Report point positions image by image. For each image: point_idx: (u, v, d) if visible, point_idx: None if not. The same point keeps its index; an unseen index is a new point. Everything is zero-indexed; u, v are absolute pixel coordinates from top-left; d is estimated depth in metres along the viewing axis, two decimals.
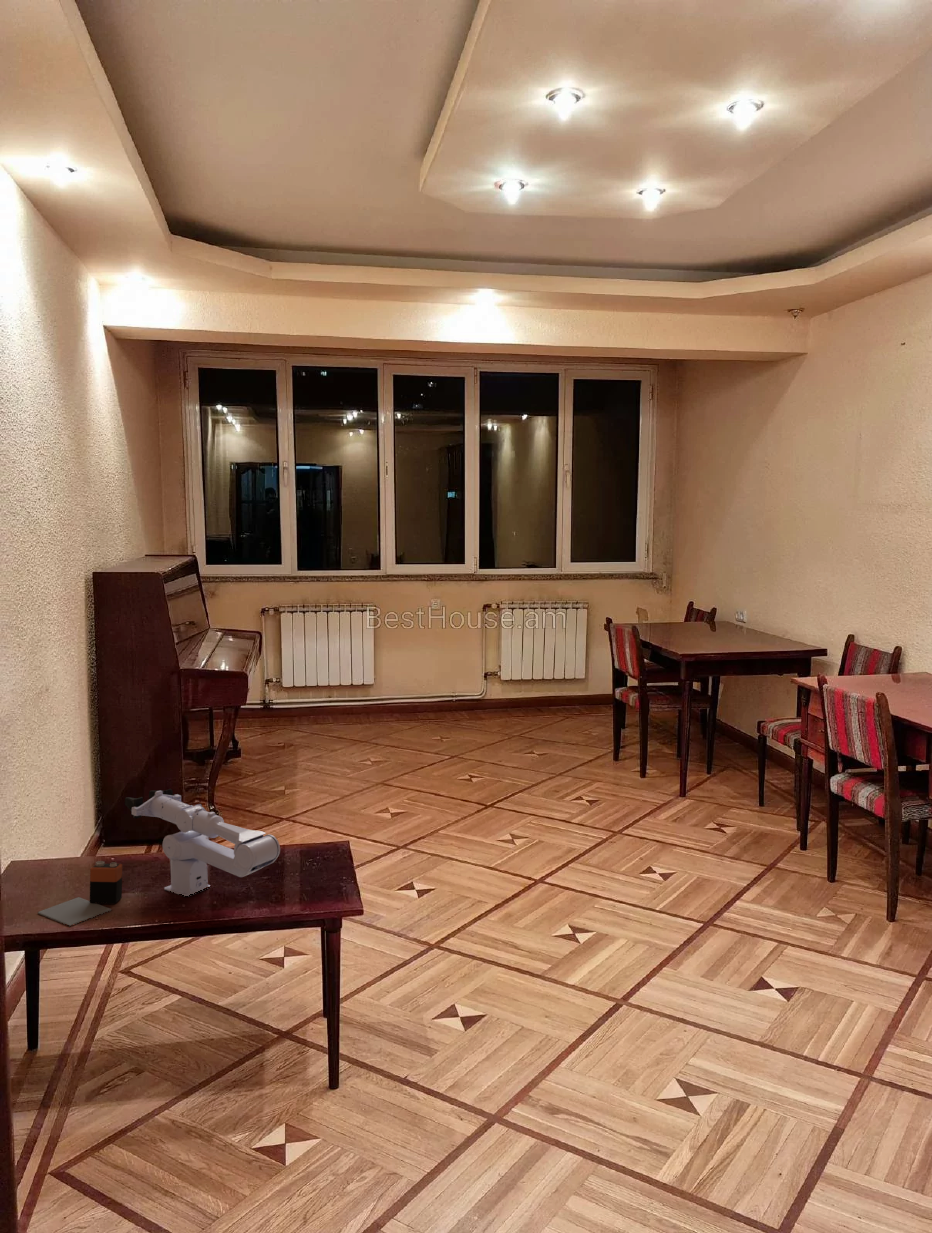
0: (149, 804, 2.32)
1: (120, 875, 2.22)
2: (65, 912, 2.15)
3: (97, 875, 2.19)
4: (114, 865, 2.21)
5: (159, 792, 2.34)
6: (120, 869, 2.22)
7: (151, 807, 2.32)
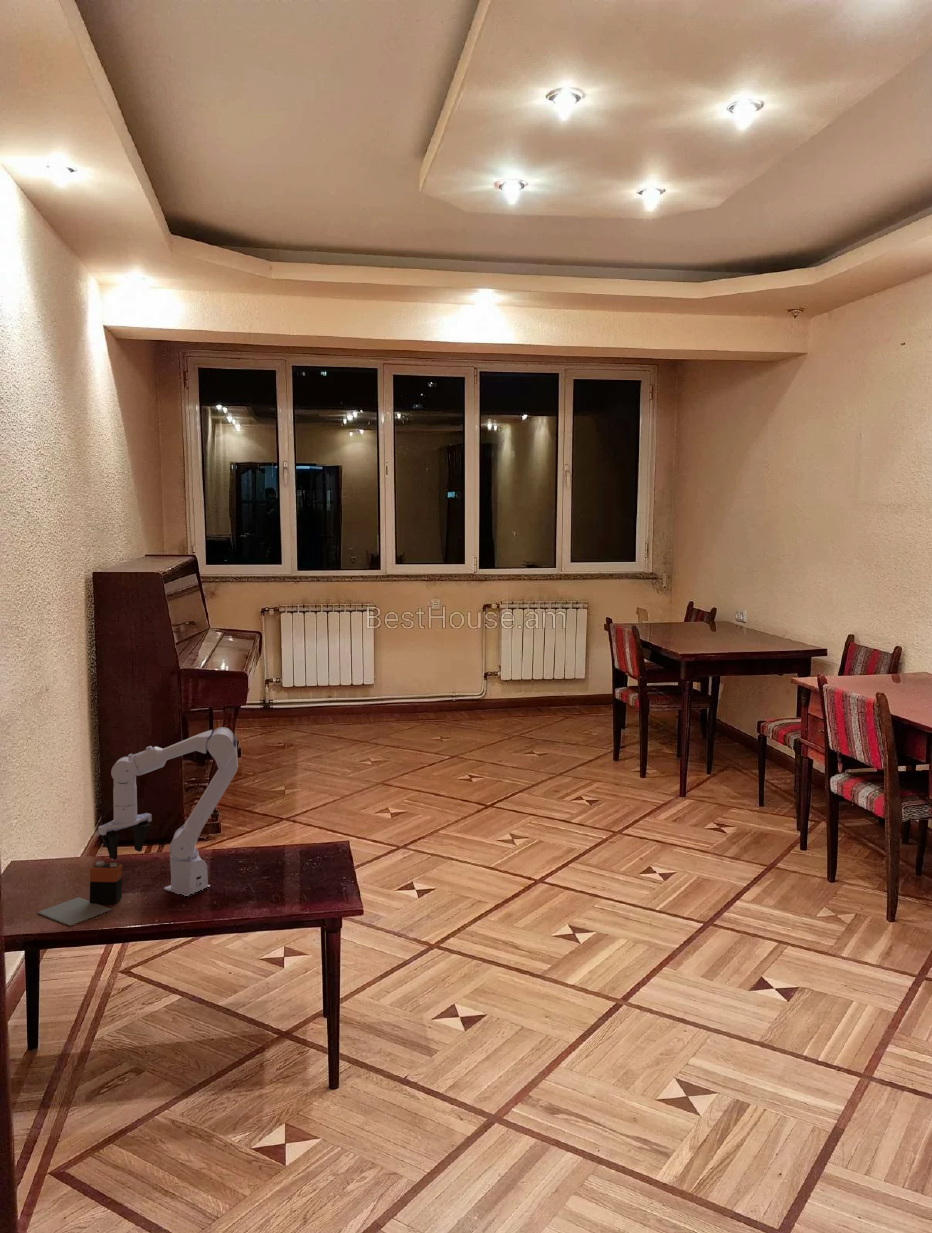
0: (113, 823, 2.24)
1: (120, 875, 2.22)
2: (65, 912, 2.15)
3: (97, 875, 2.19)
4: (114, 865, 2.21)
5: None
6: (120, 869, 2.22)
7: (115, 820, 2.24)
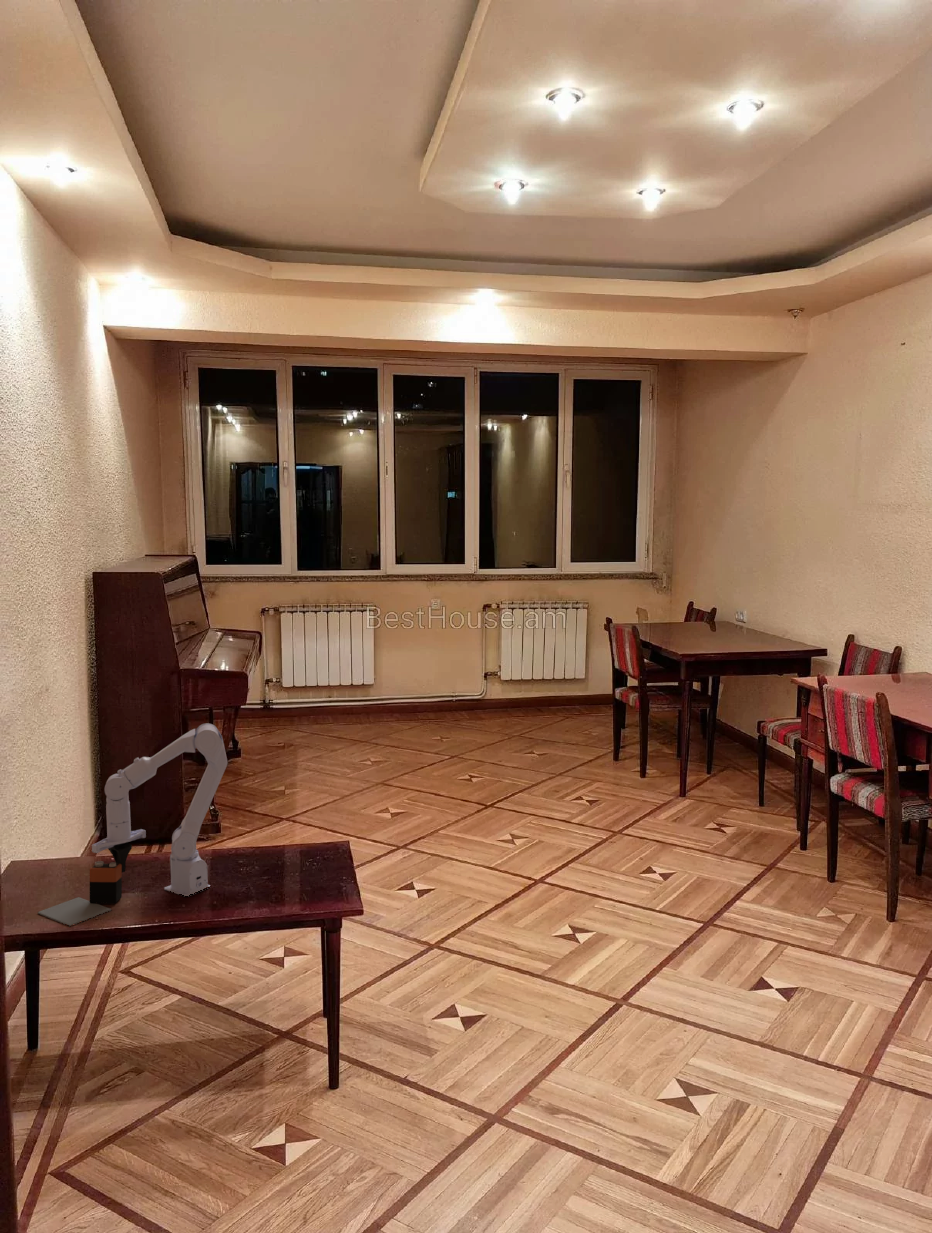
0: (106, 840, 2.23)
1: (120, 875, 2.22)
2: (65, 912, 2.15)
3: (97, 875, 2.19)
4: (113, 865, 2.21)
5: None
6: (119, 869, 2.22)
7: (108, 838, 2.22)
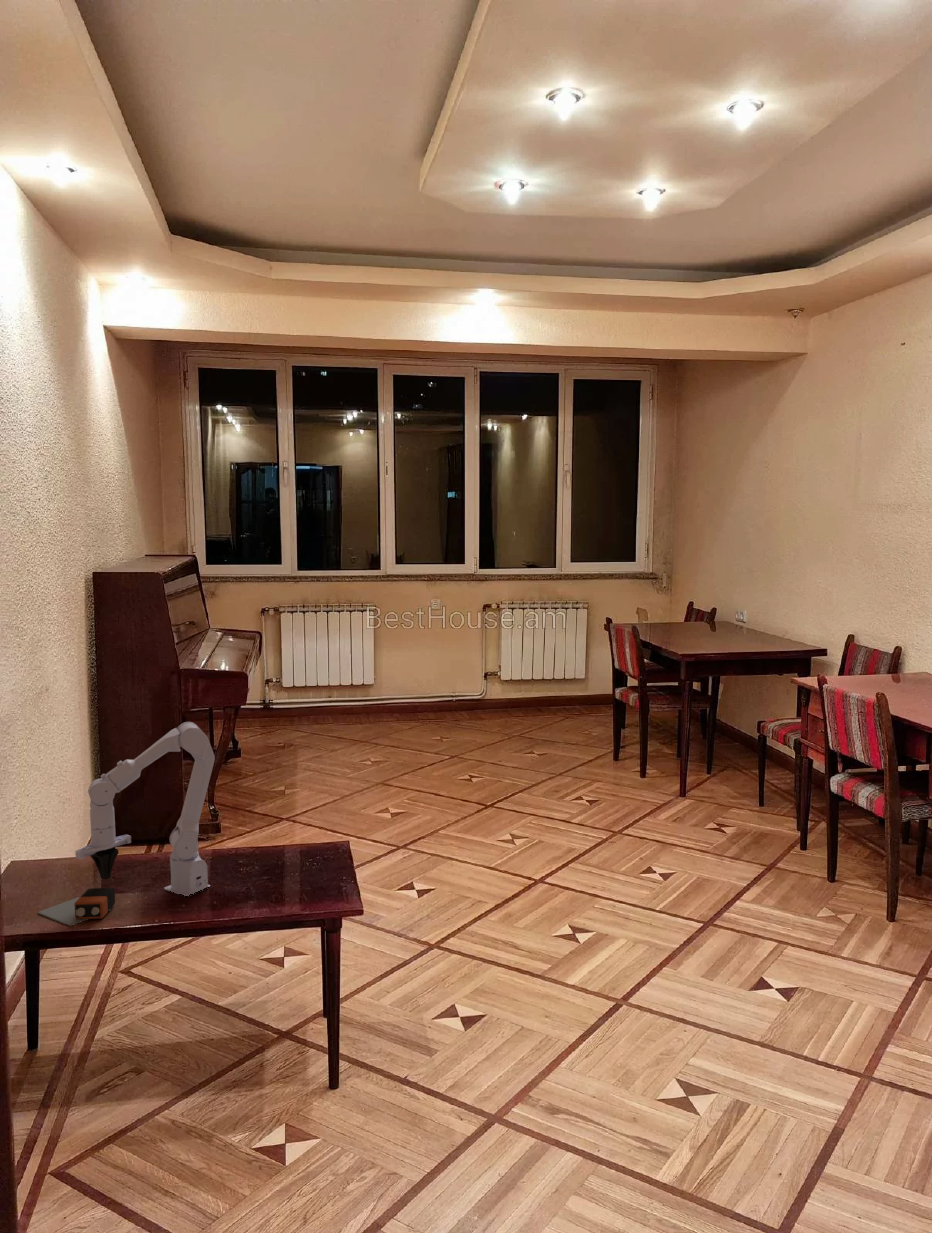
0: (91, 846, 2.19)
1: (106, 903, 2.13)
2: (65, 912, 2.15)
3: None
4: (97, 913, 2.10)
5: None
6: (104, 906, 2.11)
7: (92, 844, 2.18)
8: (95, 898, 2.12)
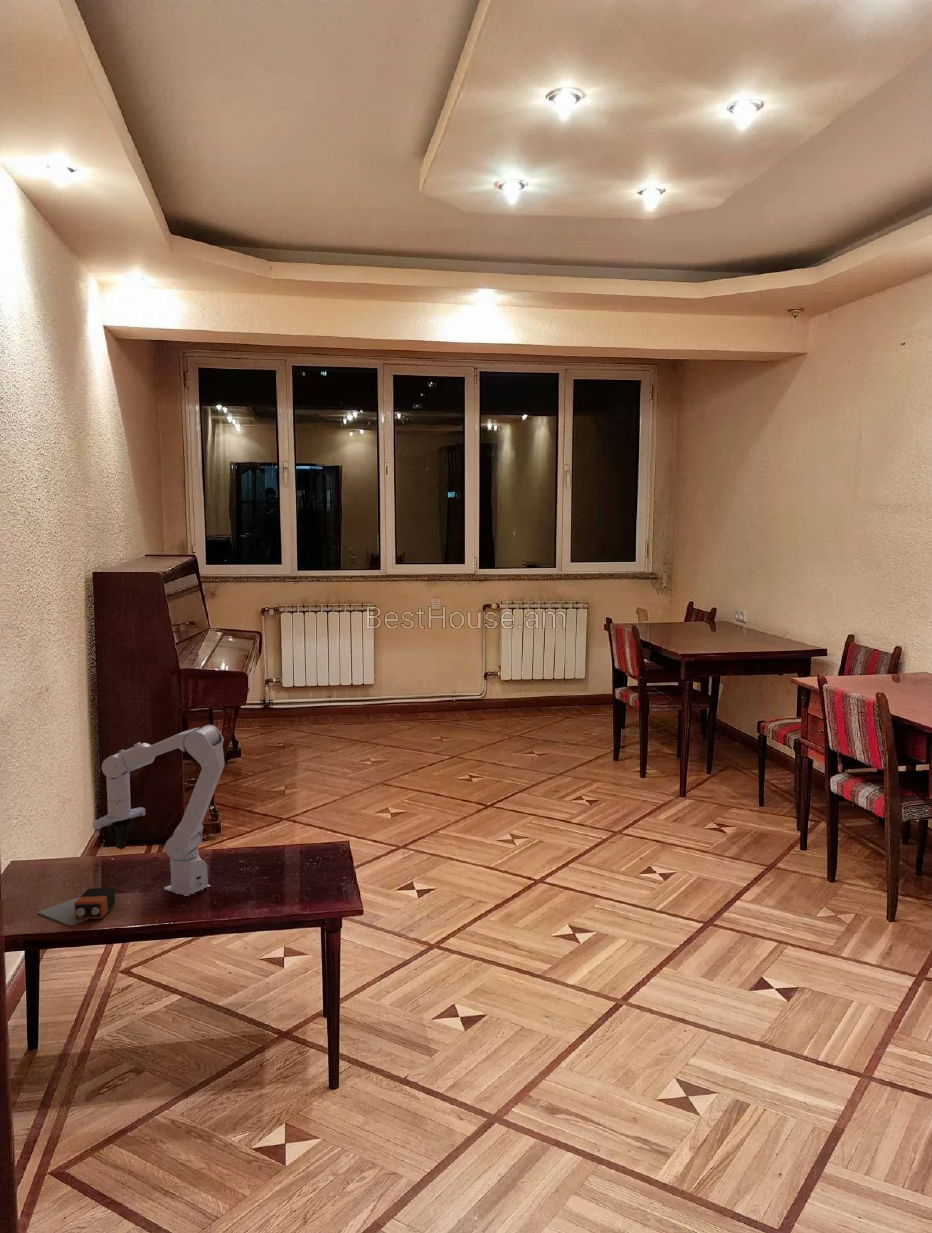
0: (107, 817, 2.29)
1: (106, 903, 2.13)
2: (65, 912, 2.15)
3: None
4: (97, 913, 2.10)
5: None
6: (104, 906, 2.11)
7: (109, 815, 2.29)
8: (95, 898, 2.12)
